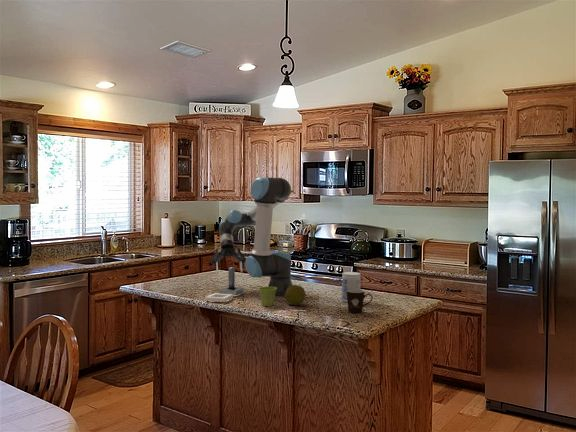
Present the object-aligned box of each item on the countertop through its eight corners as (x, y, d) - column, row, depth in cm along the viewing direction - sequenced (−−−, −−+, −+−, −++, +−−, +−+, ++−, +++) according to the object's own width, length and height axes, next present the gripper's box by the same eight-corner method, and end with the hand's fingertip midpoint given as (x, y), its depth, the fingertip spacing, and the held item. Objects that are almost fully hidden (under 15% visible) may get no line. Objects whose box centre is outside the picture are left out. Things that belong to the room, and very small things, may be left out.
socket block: (243, 293, 291) (243, 287, 290) (236, 297, 281) (236, 290, 281) (227, 292, 294) (227, 286, 293) (219, 296, 284) (219, 289, 284)
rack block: (233, 299, 276) (233, 294, 276) (224, 303, 265) (224, 298, 265) (214, 297, 279) (214, 293, 279) (204, 302, 269) (204, 297, 268)
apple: (284, 306, 257) (284, 284, 257) (286, 302, 267) (286, 281, 266) (304, 307, 256) (304, 285, 256) (306, 303, 266) (306, 281, 265)
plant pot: (254, 305, 261) (254, 287, 261) (269, 302, 267) (269, 285, 267) (265, 308, 254) (265, 290, 254) (280, 305, 260) (280, 288, 260)
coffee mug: (342, 312, 244) (342, 291, 244) (351, 309, 252) (351, 288, 251) (365, 315, 238) (365, 294, 237) (373, 312, 245) (373, 291, 245)
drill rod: (235, 294, 288) (235, 267, 288) (233, 295, 285) (233, 268, 285) (230, 294, 289) (229, 267, 289) (227, 295, 286) (227, 268, 286)
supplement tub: (339, 302, 268) (339, 273, 267) (345, 299, 276) (345, 271, 276) (357, 304, 264) (357, 275, 263) (362, 300, 272) (362, 272, 272)
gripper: (247, 246, 310) (251, 275, 296) (205, 247, 305) (206, 277, 291) (248, 238, 305) (252, 267, 291) (205, 239, 300) (207, 269, 286)
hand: (229, 272), depth 291 cm, fingers open, 13 cm apart
